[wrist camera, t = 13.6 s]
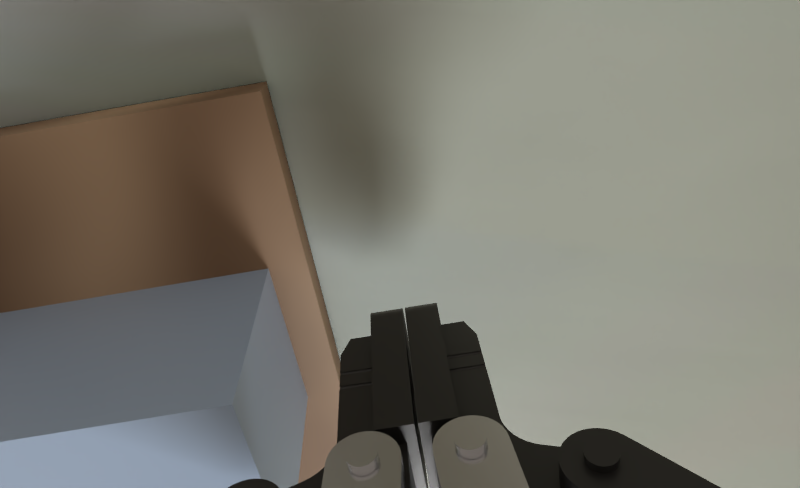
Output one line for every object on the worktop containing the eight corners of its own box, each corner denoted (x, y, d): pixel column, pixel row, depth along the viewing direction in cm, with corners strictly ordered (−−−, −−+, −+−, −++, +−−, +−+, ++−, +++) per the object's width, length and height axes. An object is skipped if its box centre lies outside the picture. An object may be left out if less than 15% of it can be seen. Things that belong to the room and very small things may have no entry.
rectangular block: (-105, 330, 14) (-281, 487, 10) (268, 268, 14) (232, 404, 10) (-23, 449, 16) (-146, 620, 12) (307, 396, 16) (290, 553, 12)
